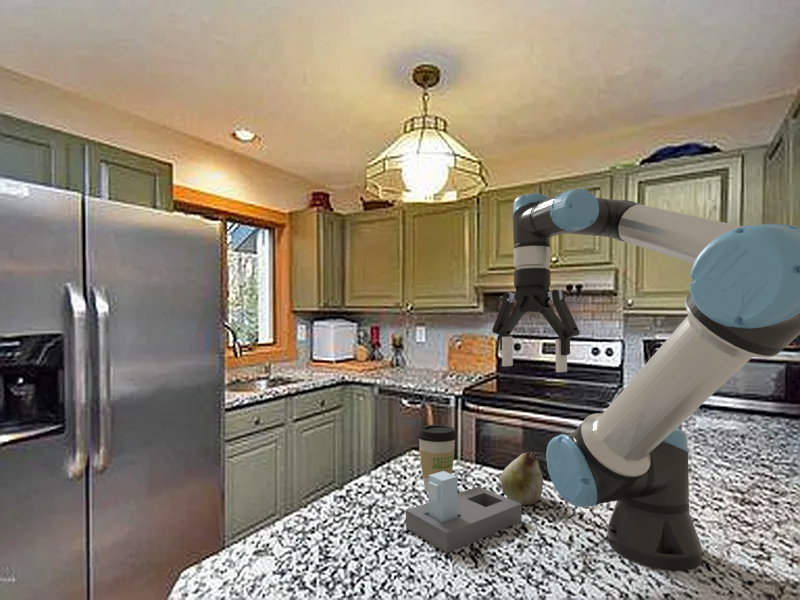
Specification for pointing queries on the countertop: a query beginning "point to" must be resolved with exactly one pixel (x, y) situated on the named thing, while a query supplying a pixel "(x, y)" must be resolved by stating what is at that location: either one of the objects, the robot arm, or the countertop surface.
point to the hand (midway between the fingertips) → (533, 368)
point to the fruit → (523, 479)
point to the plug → (443, 496)
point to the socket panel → (465, 519)
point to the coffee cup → (436, 450)
